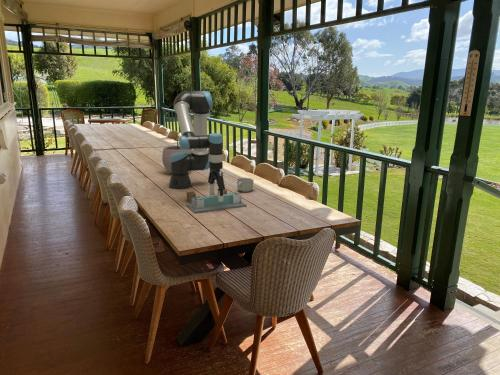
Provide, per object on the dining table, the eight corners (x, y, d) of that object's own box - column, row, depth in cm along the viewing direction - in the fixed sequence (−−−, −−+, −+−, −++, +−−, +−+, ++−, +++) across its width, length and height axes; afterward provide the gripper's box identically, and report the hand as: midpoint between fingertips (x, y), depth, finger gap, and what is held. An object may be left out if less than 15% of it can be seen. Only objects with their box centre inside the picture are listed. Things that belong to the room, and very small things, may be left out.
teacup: (244, 188, 263) (244, 176, 261) (256, 190, 256) (257, 178, 254) (230, 192, 253) (230, 180, 251) (243, 195, 246) (243, 182, 244)
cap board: (186, 206, 223) (186, 204, 222) (236, 199, 236) (236, 198, 236) (194, 213, 210) (194, 211, 209) (246, 206, 223) (246, 204, 223)
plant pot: (199, 174, 302) (198, 136, 295) (170, 178, 289) (168, 138, 282) (185, 169, 321) (184, 132, 314) (158, 172, 308) (156, 134, 301)
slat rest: (186, 200, 234) (186, 192, 233) (223, 195, 244) (223, 187, 243) (189, 202, 229) (189, 194, 228) (227, 198, 239) (227, 190, 238)
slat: (195, 206, 219) (195, 197, 217) (234, 201, 229) (234, 193, 228) (197, 207, 216) (197, 199, 215) (236, 202, 226) (236, 194, 225)
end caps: (191, 205, 220) (190, 197, 218) (236, 200, 231) (236, 192, 230) (195, 209, 213) (194, 200, 212) (241, 203, 225) (241, 194, 224)
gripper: (202, 158, 225) (202, 193, 231) (217, 166, 204) (218, 204, 209) (214, 157, 229) (214, 191, 234) (230, 165, 207) (231, 203, 212)
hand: (216, 198), depth 222 cm, fingers open, 13 cm apart
